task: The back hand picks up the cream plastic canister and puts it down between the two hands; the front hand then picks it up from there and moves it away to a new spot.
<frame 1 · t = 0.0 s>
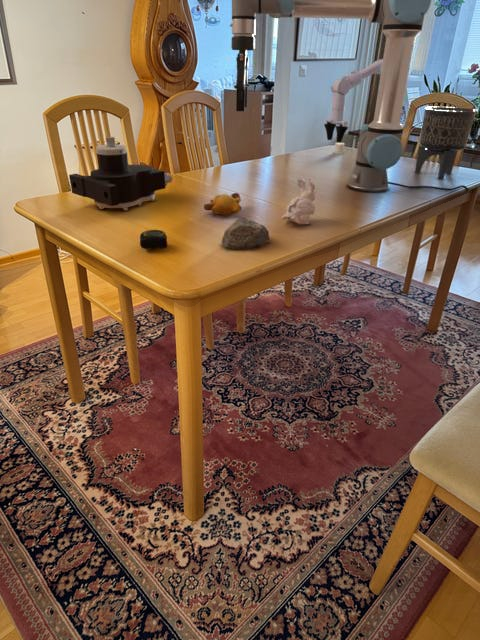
front hand: (241, 109, 155), 28 cm above the table, tool pointing down, fingers open, 13 cm apart
back hand: (334, 141, 212), 10 cm above the table, tool pointing down, fingers open, 7 cm apart
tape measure: (155, 248, 118), on the table
toy: (225, 212, 146), on the table
rock: (247, 244, 122), on the table
planter: (435, 175, 199), on the table
mechanical component: (131, 202, 154), on the table
figurine: (298, 222, 138), on the table
canister: (338, 153, 241), on the table
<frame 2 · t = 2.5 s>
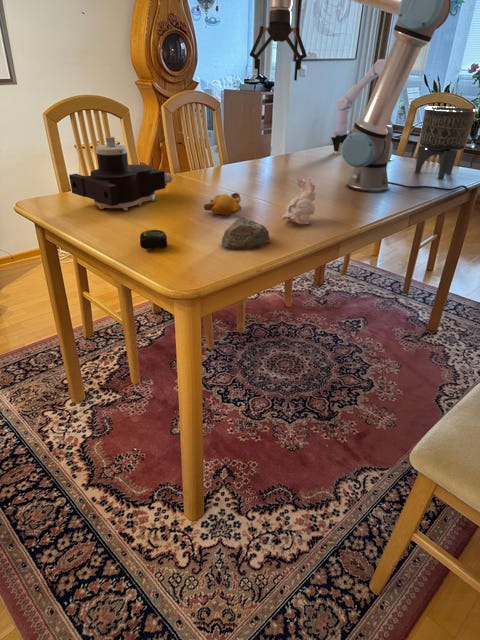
front hand: (276, 80, 166), 36 cm above the table, tool pointing down, fingers open, 13 cm apart
back hand: (338, 150, 241), 1 cm above the table, tool pointing down, fingers closed on canister, 5 cm apart
canister: (338, 153, 241), on the table, touching back hand
everything else where it was.
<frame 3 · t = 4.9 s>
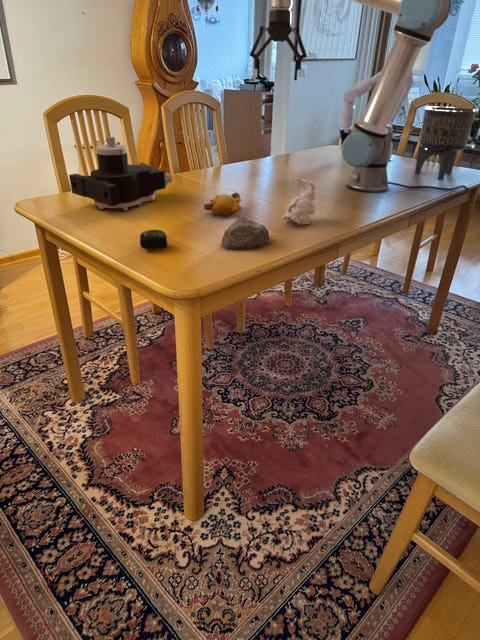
front hand: (276, 80, 166), 36 cm above the table, tool pointing down, fingers open, 13 cm apart
back hand: (343, 145, 228), 6 cm above the table, tool pointing down, fingers closed on canister, 5 cm apart
canister: (343, 148, 229), point 4 cm above the table, touching back hand
everything else where it was.
when the back hand's fingers open (2 cm above the table, at t = 7.2 s): canister stays where it is, on the table.
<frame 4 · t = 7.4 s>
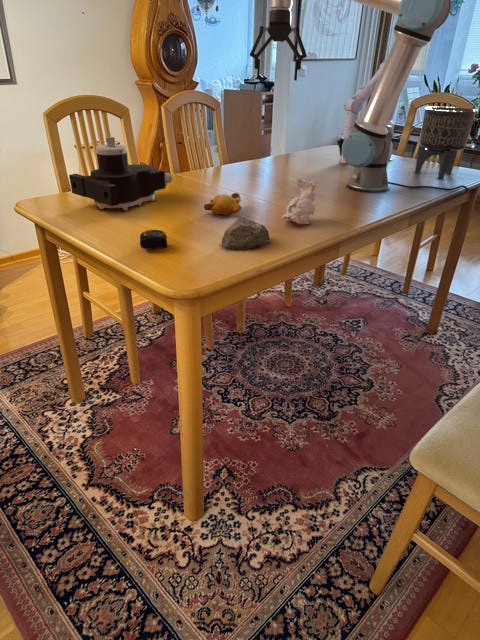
front hand: (276, 80, 166), 36 cm above the table, tool pointing down, fingers open, 13 cm apart
back hand: (346, 157, 219), 2 cm above the table, tool pointing down, fingers open, 6 cm apart
canister: (345, 162, 221), on the table
everything else where it was.
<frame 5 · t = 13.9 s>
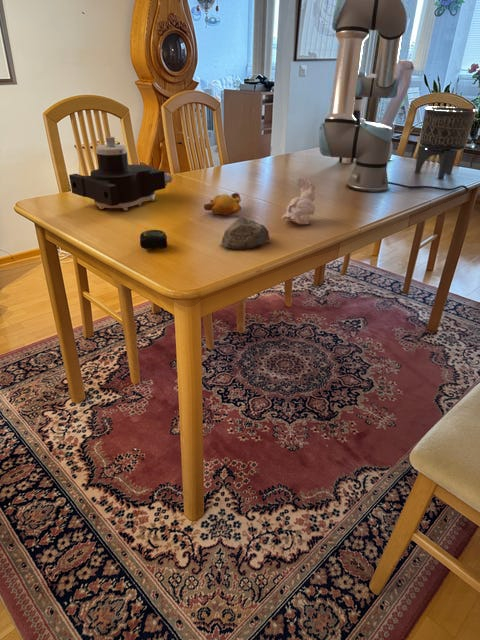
front hand: (345, 161, 220), 0 cm above the table, tool pointing down, fingers closed on canister, 5 cm apart
back hand: (352, 136, 237), 8 cm above the table, tool pointing down, fingers open, 7 cm apart
canister: (345, 162, 221), on the table, touching front hand
everything else where it was.
when the front hand's fingers open (1 cm above the table, at t = 19.1 s): canister stays where it is, on the table.
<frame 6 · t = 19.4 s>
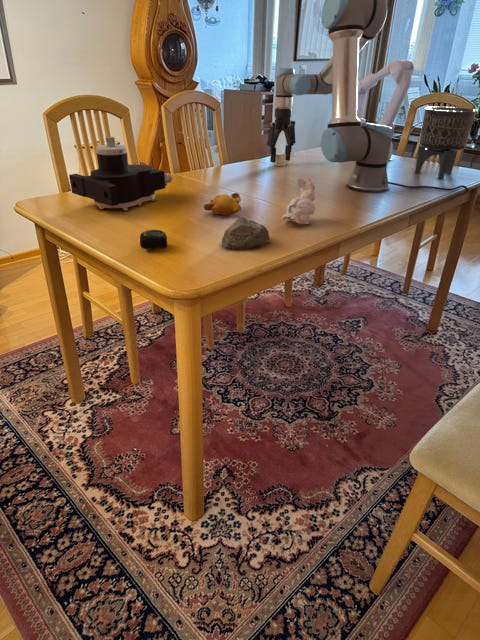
front hand: (280, 161, 211), 2 cm above the table, tool pointing down, fingers open, 8 cm apart
back hand: (352, 136, 237), 8 cm above the table, tool pointing down, fingers open, 7 cm apart
canister: (280, 165, 212), on the table
everything else where it was.
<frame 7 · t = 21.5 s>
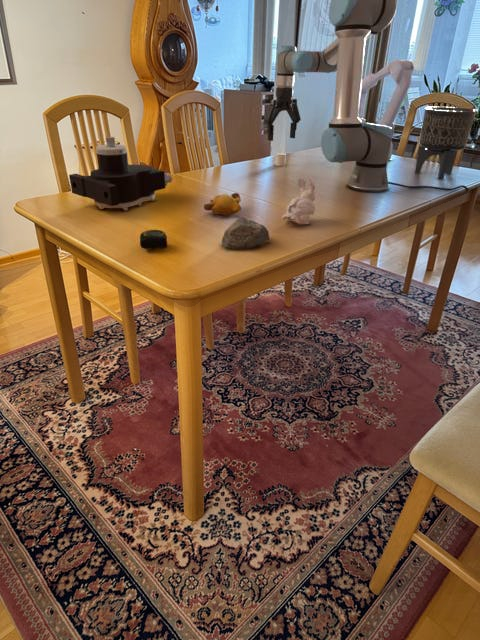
front hand: (281, 139, 206), 11 cm above the table, tool pointing down, fingers open, 13 cm apart
back hand: (352, 136, 237), 8 cm above the table, tool pointing down, fingers open, 7 cm apart
nothing on the table moved.
at the end: canister inside the target area (0.1 cm from its centre), on the table; canister tilted 0°; the two hands never held the canister at the same time; the front hand is holding nothing; the back hand is holding nothing; canister at rest at the end (0.0 cm/s) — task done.
